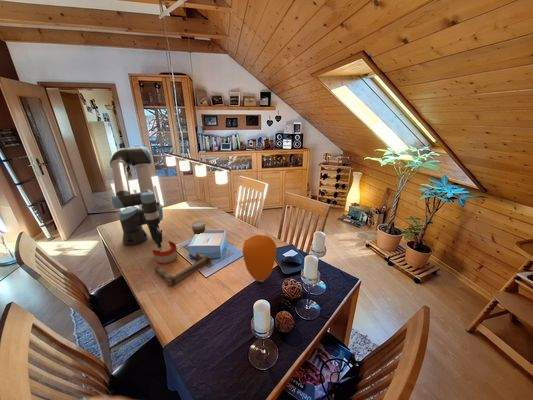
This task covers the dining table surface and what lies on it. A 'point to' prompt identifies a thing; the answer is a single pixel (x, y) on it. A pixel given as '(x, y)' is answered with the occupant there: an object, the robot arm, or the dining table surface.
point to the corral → (185, 273)
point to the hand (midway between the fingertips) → (159, 251)
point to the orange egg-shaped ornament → (259, 256)
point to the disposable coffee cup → (198, 227)
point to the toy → (166, 254)
